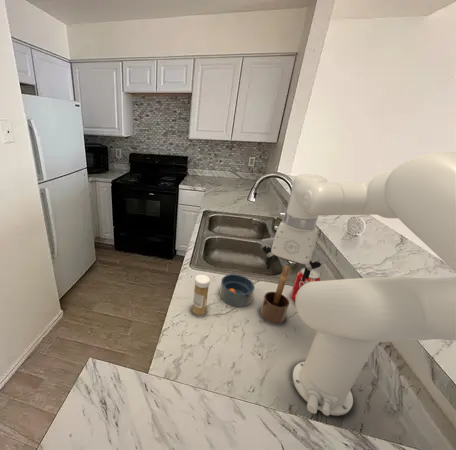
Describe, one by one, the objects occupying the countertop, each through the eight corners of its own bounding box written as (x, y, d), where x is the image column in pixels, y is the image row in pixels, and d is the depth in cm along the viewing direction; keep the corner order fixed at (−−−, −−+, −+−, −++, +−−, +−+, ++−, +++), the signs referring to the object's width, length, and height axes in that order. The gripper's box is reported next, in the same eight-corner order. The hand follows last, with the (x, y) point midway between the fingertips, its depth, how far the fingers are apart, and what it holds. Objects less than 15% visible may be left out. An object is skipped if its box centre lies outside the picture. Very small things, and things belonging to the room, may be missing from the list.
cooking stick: (273, 316, 82) (289, 266, 79) (268, 313, 83) (283, 264, 80) (276, 314, 83) (291, 266, 80) (270, 312, 84) (285, 264, 81)
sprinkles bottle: (208, 312, 84) (213, 279, 78) (198, 318, 82) (202, 285, 76) (199, 304, 88) (202, 272, 82) (189, 309, 85) (192, 276, 79)
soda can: (316, 307, 87) (327, 279, 82) (295, 307, 87) (304, 279, 82) (305, 293, 93) (315, 266, 88) (286, 293, 93) (294, 266, 88)
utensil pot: (280, 328, 79) (286, 311, 76) (257, 317, 83) (261, 300, 80) (286, 314, 84) (291, 298, 81) (264, 304, 88) (268, 288, 85)
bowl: (244, 313, 84) (247, 299, 81) (214, 298, 90) (216, 285, 87) (255, 295, 92) (258, 282, 89) (226, 283, 98) (229, 270, 95)
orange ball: (237, 291, 88) (232, 298, 88) (238, 292, 91) (233, 299, 90) (230, 286, 90) (225, 292, 89) (231, 287, 92) (226, 293, 92)
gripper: (263, 217, 71) (252, 268, 78) (336, 234, 61) (316, 291, 69) (270, 209, 76) (260, 258, 84) (339, 224, 67) (320, 277, 74)
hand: (285, 272), depth 76 cm, fingers open, 9 cm apart
